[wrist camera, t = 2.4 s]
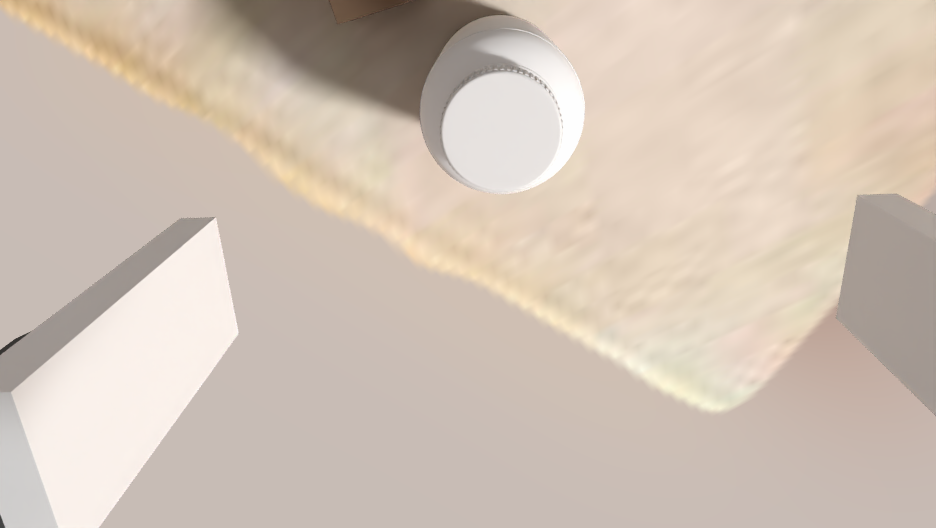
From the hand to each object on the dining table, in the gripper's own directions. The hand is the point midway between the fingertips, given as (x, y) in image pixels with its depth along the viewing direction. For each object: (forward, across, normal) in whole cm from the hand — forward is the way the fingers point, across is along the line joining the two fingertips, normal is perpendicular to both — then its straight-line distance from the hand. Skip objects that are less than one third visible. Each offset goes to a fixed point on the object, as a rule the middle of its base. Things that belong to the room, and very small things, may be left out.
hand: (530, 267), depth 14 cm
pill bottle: (+31, 0, 0) cm, 31 cm away
